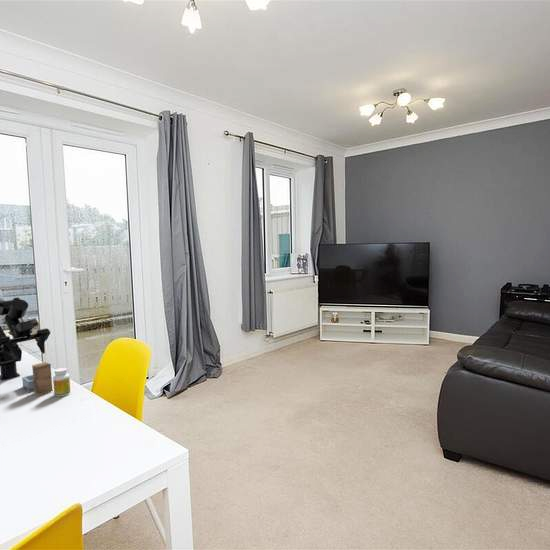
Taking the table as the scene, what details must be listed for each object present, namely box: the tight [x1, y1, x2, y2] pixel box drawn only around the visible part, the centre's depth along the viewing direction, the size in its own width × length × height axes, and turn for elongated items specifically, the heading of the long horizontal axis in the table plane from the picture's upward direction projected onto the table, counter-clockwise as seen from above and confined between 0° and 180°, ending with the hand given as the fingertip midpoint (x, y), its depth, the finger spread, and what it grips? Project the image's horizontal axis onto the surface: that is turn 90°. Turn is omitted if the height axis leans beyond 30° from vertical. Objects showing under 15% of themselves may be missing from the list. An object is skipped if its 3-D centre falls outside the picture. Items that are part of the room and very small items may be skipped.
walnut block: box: [32, 361, 54, 396], centre depth 146 cm, size 4×4×11 cm
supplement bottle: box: [52, 367, 71, 398], centre depth 144 cm, size 5×5×10 cm
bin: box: [21, 374, 34, 392], centre depth 152 cm, size 7×7×4 cm
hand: (31, 356), depth 149 cm, fingers open, 9 cm apart
